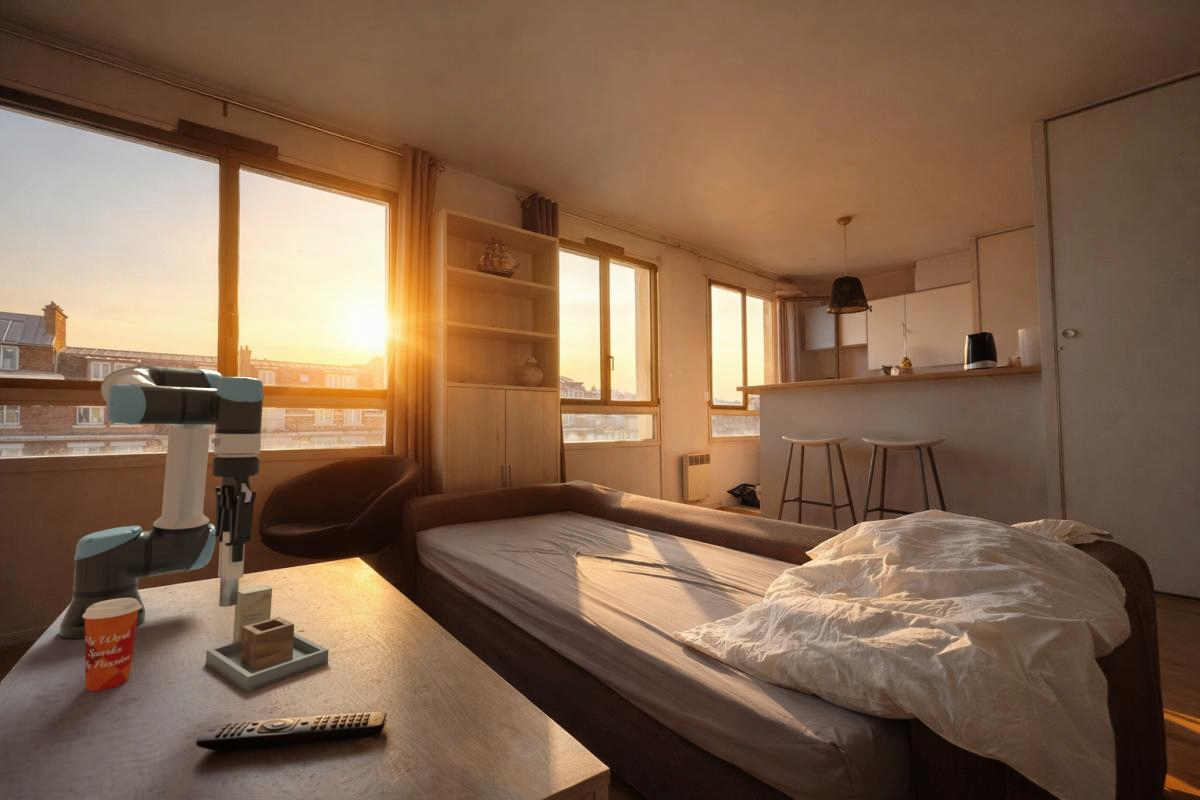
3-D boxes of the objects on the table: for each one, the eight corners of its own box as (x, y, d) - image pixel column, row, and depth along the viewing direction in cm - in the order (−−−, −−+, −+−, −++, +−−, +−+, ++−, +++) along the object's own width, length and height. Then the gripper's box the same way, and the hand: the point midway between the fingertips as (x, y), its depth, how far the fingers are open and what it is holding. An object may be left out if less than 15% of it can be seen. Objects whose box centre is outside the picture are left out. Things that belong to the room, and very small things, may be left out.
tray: (205, 663, 108) (206, 649, 108) (283, 640, 120) (283, 627, 120) (247, 692, 96) (248, 677, 96) (327, 663, 108) (328, 649, 109)
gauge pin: (216, 604, 100) (220, 531, 100) (234, 600, 102) (238, 528, 103) (222, 607, 98) (226, 533, 99) (240, 603, 100) (244, 530, 101)
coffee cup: (68, 698, 93) (74, 613, 94) (87, 678, 101) (93, 600, 101) (129, 688, 97) (134, 606, 98) (143, 669, 104) (148, 594, 105)
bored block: (240, 661, 107) (242, 626, 108) (277, 649, 113) (278, 616, 113) (255, 670, 103) (257, 634, 104) (292, 657, 109) (294, 624, 109)
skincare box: (238, 650, 114) (241, 594, 115) (231, 644, 117) (234, 590, 118) (270, 641, 119) (273, 587, 120) (263, 636, 122) (266, 584, 123)
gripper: (199, 454, 103) (192, 573, 102) (230, 458, 94) (223, 589, 93) (242, 453, 109) (236, 565, 108) (275, 456, 100) (269, 579, 99)
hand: (230, 576), depth 100 cm, fingers closed on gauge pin, 3 cm apart
